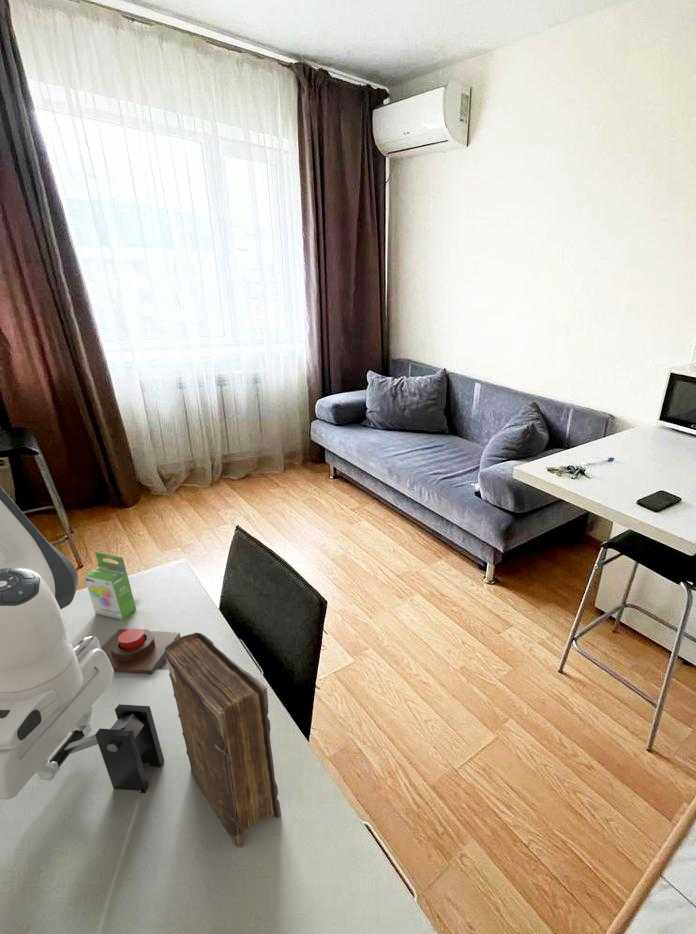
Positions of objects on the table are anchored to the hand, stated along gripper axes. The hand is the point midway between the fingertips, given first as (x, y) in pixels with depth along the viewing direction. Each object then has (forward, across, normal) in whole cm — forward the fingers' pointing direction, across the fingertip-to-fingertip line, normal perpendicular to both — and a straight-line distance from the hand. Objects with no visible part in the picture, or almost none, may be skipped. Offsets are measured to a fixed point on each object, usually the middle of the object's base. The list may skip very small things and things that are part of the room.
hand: (67, 754), depth 70 cm
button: (+1, -24, -5) cm, 24 cm away
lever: (-3, 0, +6) cm, 6 cm away
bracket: (+5, 0, +10) cm, 11 cm away
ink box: (+5, -36, -17) cm, 40 cm away
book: (+5, +1, +24) cm, 24 cm away
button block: (+5, -24, -5) cm, 25 cm away
